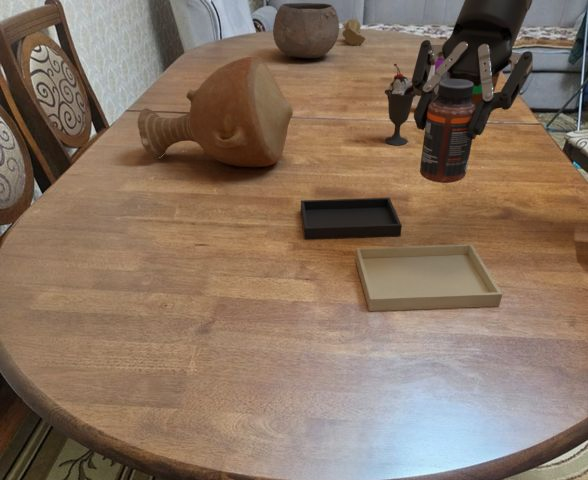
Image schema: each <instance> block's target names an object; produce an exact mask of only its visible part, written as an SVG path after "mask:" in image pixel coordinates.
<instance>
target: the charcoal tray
mask: <svg viewBox="0 0 588 480" xmlns="http://www.w3.org/2000/svg"><path fill="white" fill-rule="evenodd" d="M300 215H301V216H300V217H301V222H302V230H303V237H304V240H327V239H329V240H330V239H355V238H384V237H386V238H387V237H401V235H402V228H403V227H402V223H401V221H400V218H399V216H398V214H397V212H396V208H395V207H394V205H393V202H392V199H391V198H390V197H369V198H367V197H366V198H364V197H363V198H335V199H304V200H300Z"/></svg>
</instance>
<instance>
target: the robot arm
mask: <svg viewBox="0 0 588 480" xmlns="http://www.w3.org/2000/svg"><path fill="white" fill-rule="evenodd" d="M532 4H533V0H464V1H463V4H462V6H461V9H460V11H459V13H458V16H457V18H456V21H455V22H454V23H455V24H454V26H453V29H452V32H451V35H450V36H449V37H448V39H446V40H445V42H444V43H443V44H432V43H431V41H430V40H429V39H425V40H423V41H422V42H421V43H420V46H419V50H418V54H417V58H416V62H415V64H414V65H415V66H414V69H413V74H412V77H411V80H410V81H411V85H413V88H414V91H415V94H416V95H417V96H421V97H420V100H419V102H418V105H417V107H416V109H414V112H413V119H414V122H415V125H416V128H417V129H418V130H422V131H425V126H426V118H427V111H428V106H429V104H430V103H431V102H432V101H433V100H434V99H436V97H437V96H438V89H439V83H440V82H441V81H443V80H446V79H464V80H469V81H471V82H473V84H474V86H479V85H480V84H481V86H482V97H483V98H482V101H481V102H480V101H479V102H478V104H477V107H476V109H475V111H474V114H473V116H472V119H471V121H470V124H469V126H468V129H467V134H468V138H470V139H472V140H475V139H476V137H477V136H481V135H482V134H483V133H484V130H485V129H486V126H487V123H488V121H489V118H490V116H491V114H492V112H494V111H495V110H498V109H502V110H504V111H507V110H509V109H510V108H511V107H512V105H513V104H514V102H515V100H517V97H518V95H519V93H520V92H521V90H522V88H523V87H524V85H525V83H526V82H527V80H528V78H529V76H530V74H531V73H532V72H533V67H534V65H533V64H534V58H533V53H532V51H530V50H527V51H524V52H522V54H521V53H517V52H514V51H513V47H514V45H515V43H516V41H517V38H518V37H519V33H520V30H521V28H522V27H523V23H524V21H525V19H526V16H527V14H528V12H529V11H530V9H531V6H532ZM441 56H443V57H444V60H445V61H444V62H443V63H442V64H441V65H440V66H439V67H438V68H437V69H436V71H435V74H434V75H433V76H432V77H431V78H430V79H429V80H428V77H429V73H430V69H431V65H432V66H434V65H435V63H436V61H437V59H438V58H439V57H441ZM509 65H510V74H509V76H508V77H507V79H506V80H505V83H504V84H503V87H502V88H501V89H500V91H496V92H495V91H493V80H492V77H494V76H495V75H496V74H498V73H499V72H500V71H501V70H503V71H504V69H506V68H507V67H508V66H509ZM448 73H449V75H448V76H447V74H448ZM427 80H428V81H427Z"/></svg>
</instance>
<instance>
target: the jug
mask: <svg viewBox="0 0 588 480" xmlns="http://www.w3.org/2000/svg"><path fill="white" fill-rule="evenodd" d="M186 98H187V100H189V102H190V109H189V112H188V113H187V114H184V115H182V116H178V117H161V116H159V114H158V113H156V112H155V111H154V110H152V109H150V108H148V107H144V108H142V110H141V111H140V113H139V114H138V117H137V128H138V134H139V137H140V141H141V145H142V147H143V148H144V150H145V151H146V153H147V154H148V155H149V156H150V157H151V158H152V159H154V160H158V159H157V158H159V157H161V156H162V155H163V154H164V153H165V154H166V152H167V150H168V148H170V147H171V146H172V145H174V144H178V143H180V142H194V143H197V144H198V145H199V147H200V148H201V149H202V150H203V151H204V152H205V153H206V154H208V155H209V156H210V157H212V158H214V159H215V160H217V161H219V162H221V163H224V164H227V165H229V166H235V167H242V168H259V167H260V168H261V167H268V166H272V165H275V164H276V163H278V162H279V161H280V160H281V158H282V156H283V152H284V148H285V144H286V139H287V136H288V129H289V124H290V121H291V119H292V116H293V114H294V109H293V106H292V104H291V103H290V102H289V101H288V99H286V96H285V95H284V94H283V92H282V90H281V88H280V86H279V84H278V81H277V80H276V77H275V76H274V74H273V72H272V71H271V70H270V68H269V67H268V65H267V64H266V63H265V62H264V61H263V60H261V59H260V58H258V57H256V56H247V57H242V58H239V59H235V60H233V61H231V62H229V63H227V64H225V65H223V66H221V67H219V68H217V69H216V70H215V71H213V72H212V73H211V74H210V75H209V76H208V77H207V78H206V79H205V80H204V81H202V83H201V84H200V86H199V87H198V88H197V89H196V90H193V89H189V90H188V91H187V93H186Z"/></svg>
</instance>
